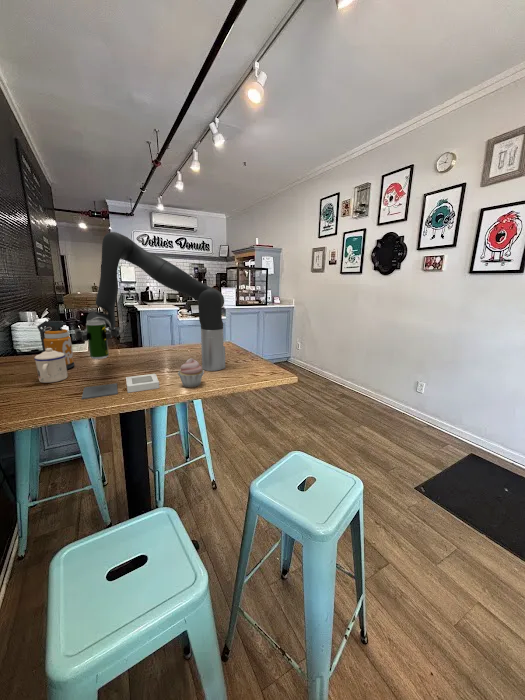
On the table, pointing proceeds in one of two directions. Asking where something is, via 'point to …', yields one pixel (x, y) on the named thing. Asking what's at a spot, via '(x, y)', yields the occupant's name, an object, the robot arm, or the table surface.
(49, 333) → the canister
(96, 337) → the beer can
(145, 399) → the table surface
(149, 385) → the collar
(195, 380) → the cupcake
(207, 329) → the robot arm
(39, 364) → the teacup with lid
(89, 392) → the mat
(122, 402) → the table surface
